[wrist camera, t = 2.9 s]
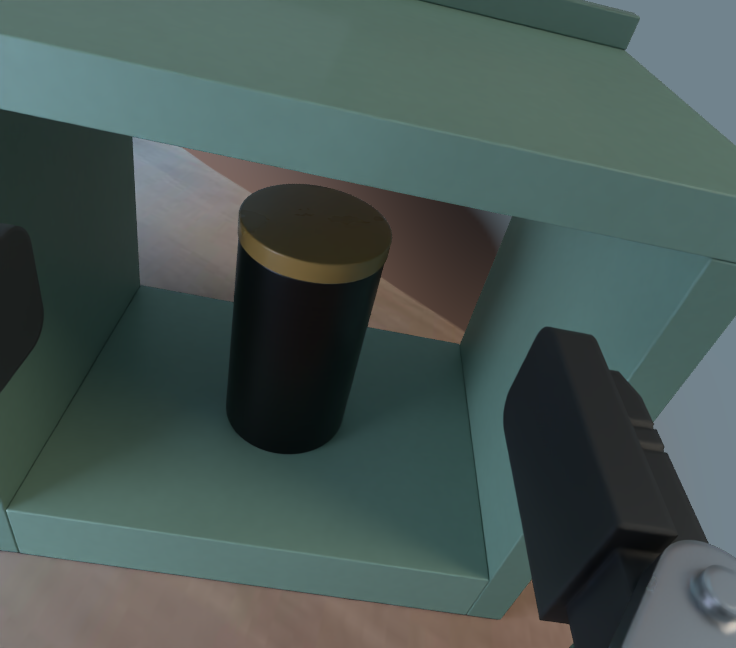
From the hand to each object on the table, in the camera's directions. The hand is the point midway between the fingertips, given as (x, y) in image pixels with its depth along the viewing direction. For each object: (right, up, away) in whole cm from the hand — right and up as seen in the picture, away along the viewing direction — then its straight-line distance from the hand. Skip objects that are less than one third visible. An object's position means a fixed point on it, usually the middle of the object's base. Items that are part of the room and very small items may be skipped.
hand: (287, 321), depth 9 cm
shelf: (-3, -6, +20) cm, 21 cm away
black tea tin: (-3, -4, +18) cm, 18 cm away
